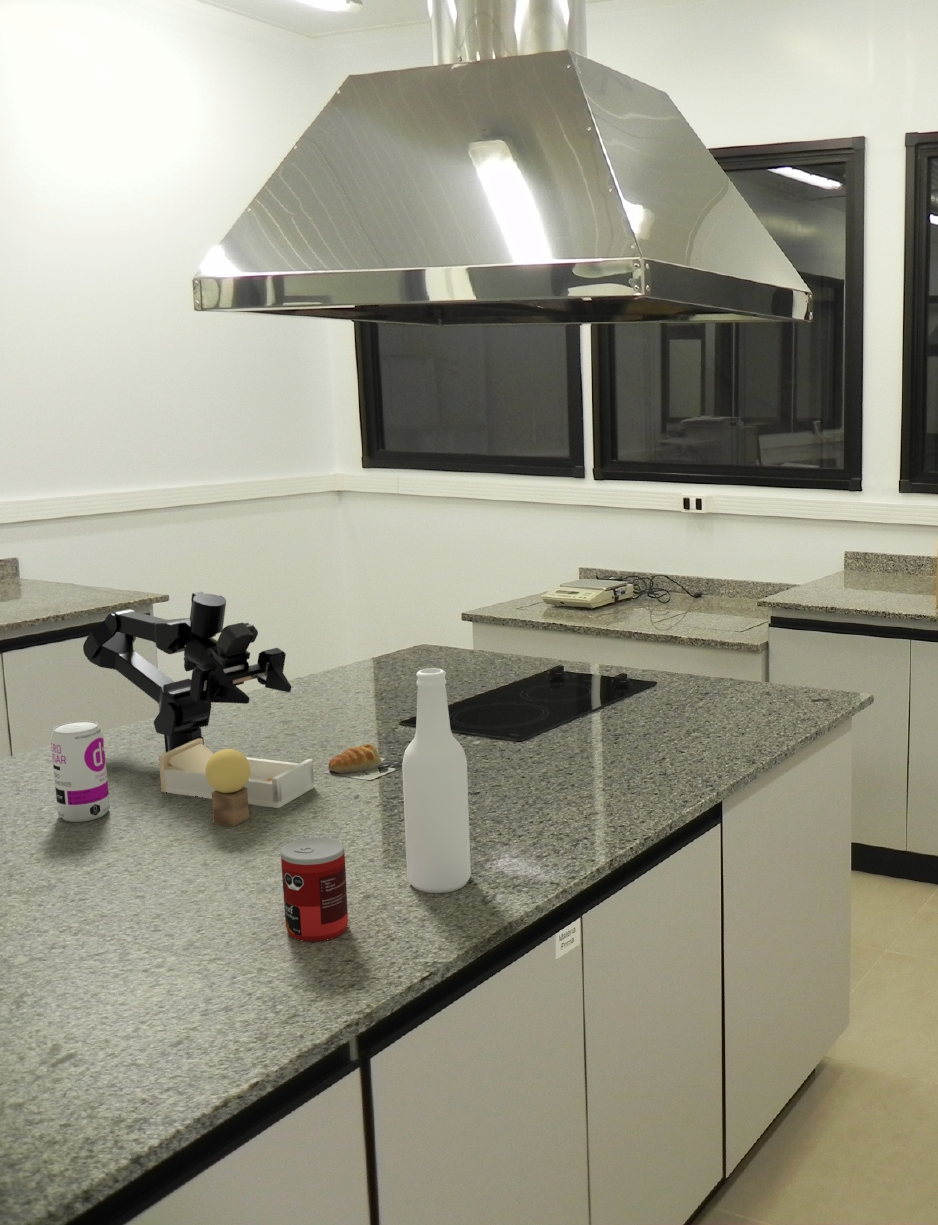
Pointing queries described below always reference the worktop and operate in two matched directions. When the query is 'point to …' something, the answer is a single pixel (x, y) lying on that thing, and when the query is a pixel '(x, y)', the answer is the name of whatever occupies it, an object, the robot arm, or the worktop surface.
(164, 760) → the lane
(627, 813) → the worktop surface
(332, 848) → the canned food
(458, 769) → the alcohol
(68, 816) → the supplement can
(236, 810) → the wooden square cup
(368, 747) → the pastry
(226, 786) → the ball
